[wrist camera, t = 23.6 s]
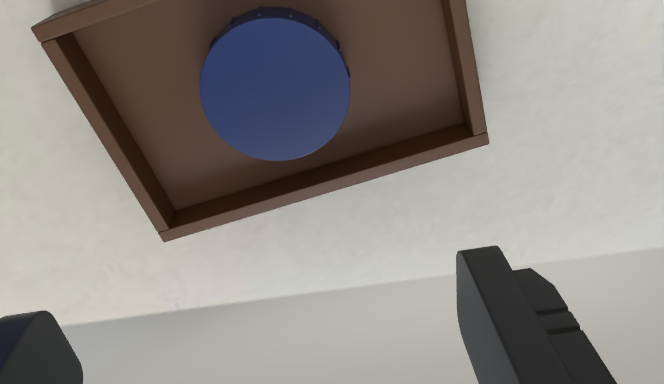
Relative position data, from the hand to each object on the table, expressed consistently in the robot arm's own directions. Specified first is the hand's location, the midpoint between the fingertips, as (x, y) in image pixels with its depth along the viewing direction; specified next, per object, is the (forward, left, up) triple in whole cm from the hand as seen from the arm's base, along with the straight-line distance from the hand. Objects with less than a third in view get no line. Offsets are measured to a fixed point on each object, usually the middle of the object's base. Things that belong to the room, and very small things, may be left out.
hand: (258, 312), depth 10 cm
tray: (0, 0, -14) cm, 14 cm away
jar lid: (0, 0, -12) cm, 12 cm away
